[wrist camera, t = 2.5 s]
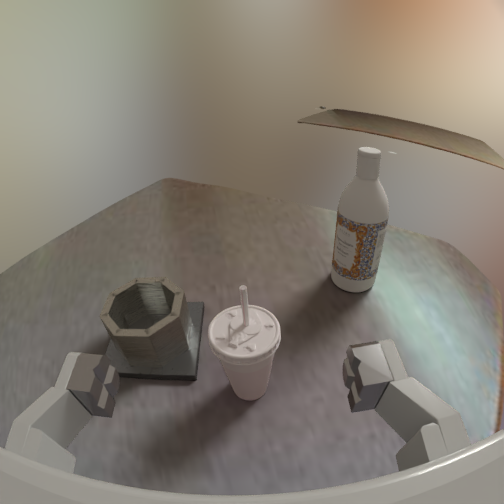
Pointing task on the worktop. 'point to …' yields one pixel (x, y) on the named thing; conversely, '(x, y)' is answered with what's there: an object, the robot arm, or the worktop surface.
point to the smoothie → (245, 346)
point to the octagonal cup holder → (153, 330)
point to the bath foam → (360, 226)
